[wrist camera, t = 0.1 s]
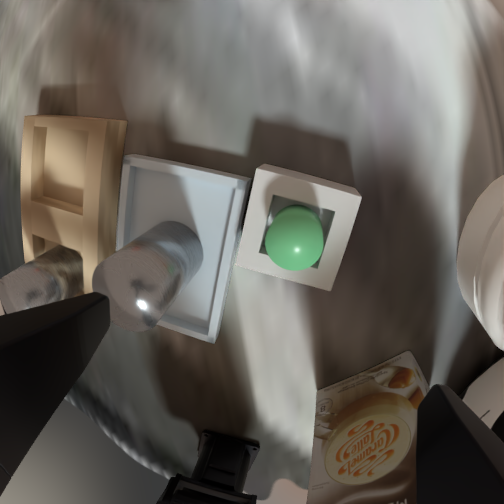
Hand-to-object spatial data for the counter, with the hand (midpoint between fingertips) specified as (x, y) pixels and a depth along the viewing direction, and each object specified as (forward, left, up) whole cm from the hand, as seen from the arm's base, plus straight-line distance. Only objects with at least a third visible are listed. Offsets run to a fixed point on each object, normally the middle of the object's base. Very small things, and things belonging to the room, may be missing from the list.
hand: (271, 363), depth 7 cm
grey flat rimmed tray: (-5, +8, -14) cm, 17 cm away
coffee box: (-13, -11, -15) cm, 23 cm away
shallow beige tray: (-5, +18, -14) cm, 24 cm away
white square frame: (0, 0, -14) cm, 14 cm away
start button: (0, 0, -12) cm, 12 cm away
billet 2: (-5, +8, -14) cm, 17 cm away
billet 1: (-9, +18, -13) cm, 24 cm away
